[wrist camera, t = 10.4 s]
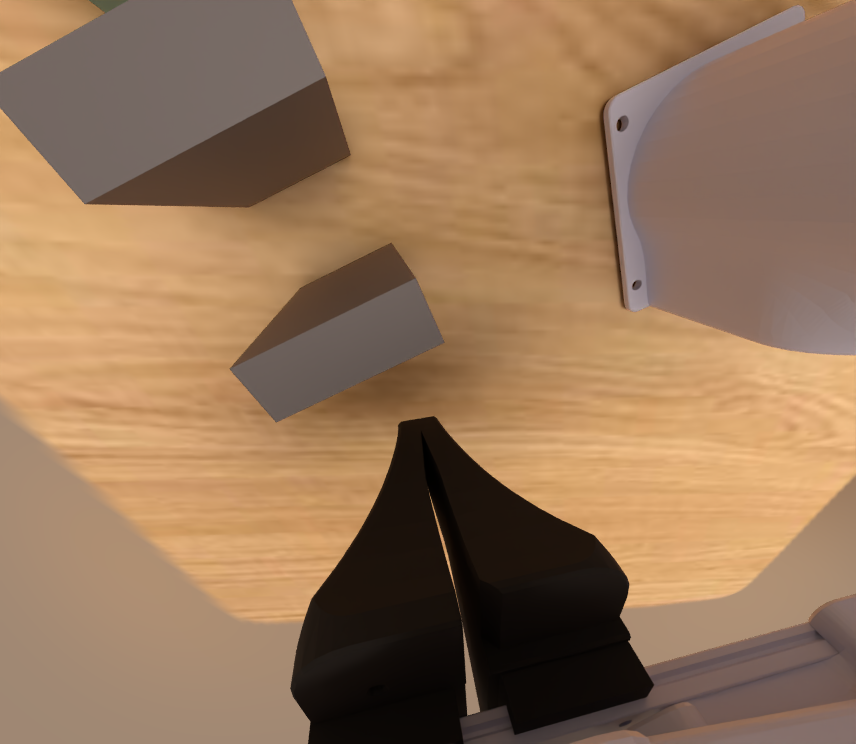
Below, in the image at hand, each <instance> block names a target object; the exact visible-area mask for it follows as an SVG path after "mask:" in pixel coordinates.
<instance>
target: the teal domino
mask: <svg viewBox="0 0 856 744" xmlns="http://www.w3.org/2000/svg"><path fill="white" fill-rule="evenodd" d="M89 1H90V2H92V3H93V4H94V5H96V6H97V7H99V8H100V9H101V10H103V11H104V12H105V13H107V12H108V11H110V10H112V9H114V8H116V7H117V6H119V5H121V4H123V3H124V2H126V1H128V0H89Z"/></svg>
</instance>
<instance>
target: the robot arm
mask: <svg viewBox="0 0 856 744" xmlns="http://www.w3.org/2000/svg"><path fill="white" fill-rule="evenodd" d="M804 20H805V11H804V9H803V7H802V6H800V5H796V6H793V7H791V8H789V9H787V10H785V11H783V12H781V13H779V14H777V15H775V16H773V17H771V18H769V19H767V20H765V21H763V22H761V23H759V24H757V25H755V26H753V27H751V28H749V29H747V30H745V31H743V32H741V33H739V34H737V35H735V36H733V37H731V38H729V39H727V40H725V41H723V42H721V43H719V44H717V45H715V46H713V47H711V48H709V49H707V50H705V51H703V52H701V53H699V54H697V55H695V56H693V57H691V58H689V59H687V60H685V61H683V62H681V63H679V64H677V65H675V66H673V67H671V68H669V69H667V70H665V71H663V72H661V73H659V74H657V75H655V76H653V77H651V78H649V79H647V80H645V81H643V82H641V83H639V84H637V85H635V86H633V87H631V88H629V89H627V90H625V91H623V92H621V93H619V94H617V95H615V96H613V97H612V98H611V99H610V100H609V101H608V102H607V104H606V106H605V109H604V126H605V135H606V144H607V152H608V161H609V170H610V179H611V188H612V197H613V206H614V214H615V223H616V232H617V241H618V250H619V259H620V268H621V276H622V285H623V294H624V303H625V307H626V309H628V310H630V311H632V312H637V311H640V310H642V309H644V308H646V307H648V306H652V307H655V308H657V309H660V310H663V311H666V312H669V313H672V314H675V315H678V316H681V317H684V318H687V319H690V320H693V321H695V322H698V323H701V324H704V325H707V326H710V327H713V328H716V329H719V330H722V331H725V332H728V333H731V334H733V335H736V336H739V337H742V338H745V339H748V340H751V341H754V342H757V343H760V344H763V345H767V346H771V347H775V348H780V349H785V350H790V351H798V352H806V353H816V354H831V355H856V0H851V1H849V2H847V3H844V4H842V5H840V6H837V7H835V8H833V9H830V10H828V11H826V12H823V13H821V14H819V15H816V16H814V17H812V18H810V19H807V20H805V21H804ZM618 119H621V122H622V126H621V129H620V131H618V130H617V127H616V125H617V121H618ZM635 281H636V284H635V286H634V287H633V288H632V285H633V283H634V282H635ZM428 489H429V491H428ZM429 493H430V495H429ZM430 496H431V499H432V503H433V506H434V509H435V512H436V516H437V519H438V522H439V525H440V529H441V532H442V535H443V538H444V541H445V545H446V549H447V553H448V557H449V561H450V566H451V571H452V575H453V580H454V585H455V589H456V593H455V589H454V586H453V582H452V579H451V575H450V572H449V568H448V564H447V561H446V557H445V553H444V550H443V546H442V542H441V538H440V535H439V531H438V527H437V523H436V519H435V515H434V511H433V507H432V503H431V499H430ZM628 589H629V581H628V579H627V576H626V575H625V573H624V572H623V571H622V569H621V568H620V566H619V565H618V563H617V562H616V561H615V559H614V558H613V557H612V556H611V554H610V553H609V552H608V551H607V549H606V548H605V547H604V546H603V545H602V544H601V543H600V541H599V540H598V539H597V538H596V537H595V536H594V535H592V534H590V533H588V532H586V531H584V530H582V529H580V528H577V527H575V526H573V525H571V524H569V523H567V522H565V521H562V520H560V519H558V518H556V517H554V516H553V515H551V514H549V513H547V512H545V511H543V510H542V509H540V508H538V507H536V506H535V505H533V504H532V503H530V502H528V501H527V500H525V499H524V498H522V497H520V496H519V495H517V494H516V493H514V492H513V491H511V490H510V489H508V488H507V487H506V486H504V485H503V484H502V483H500V482H499V481H498V480H496V479H495V478H494V477H492V476H491V475H490V474H489V473H488V472H486V471H485V470H484V469H483V468H482V467H481V466H479V465H478V464H477V463H476V462H475V461H474V460H473V459H472V458H471V457H470V456H469V455H468V454H467V453H466V452H465V451H464V450H463V449H462V448H461V447H460V446H459V445H458V444H457V443H456V442H455V441H454V440H453V438H452V437H451V436H450V435H449V434H448V433H447V431H446V430H445V429H444V428H443V426H442V425H441V424H440V422H439V421H438V419H437V418H436V417H434V416H432V417H426V418H421V419H415V420H409V421H403V422H400V424H399V425H398V437H397V442H396V447H395V451H394V454H393V458H392V461H391V464H390V467H389V470H388V473H387V475H386V478H385V481H384V483H383V486H382V488H381V491H380V493H379V495H378V497H377V499H376V501H375V503H374V505H373V507H372V509H371V511H370V513H369V515H368V517H367V519H366V521H365V522H364V524H363V526H362V528H361V529H360V531H359V533H358V534H357V536H356V537H355V539H354V541H353V542H352V544H351V545H350V547H349V548H348V550H347V551H346V553H345V554H344V556H343V557H342V559H341V560H340V562H339V563H338V565H337V566H336V567H335V569H334V570H333V571H332V573H331V574H330V575H329V577H328V578H327V579H326V581H325V582H324V583H323V585H322V586H321V587H320V588H319V590H318V591H317V592H316V594H315V595H314V596H313V598H312V599H311V602H310V605H309V608H308V611H307V614H306V617H305V620H304V623H303V626H302V630H301V634H300V638H299V641H298V646H297V650H296V656H295V662H294V669H293V675H292V682H291V688H290V689H291V692H292V695H293V697H294V699H295V700H296V701H297V703H298V704H299V706H300V707H301V709H302V710H303V712H304V713H305V715H306V716H307V717H308V719H309V720H310V722H311V723H310V731H309V740H308V744H856V594H853V595H850V596H846V597H843V598H839V599H835V600H832V601H829V602H827V603H825V604H823V605H822V606H820V607H819V608H818V609H816V610H815V611H814V612H813V613H812V615H811V616H810V617H809V622H806V623H803V624H799V625H795V626H792V627H789V628H785V629H781V630H777V631H773V632H770V633H767V634H763V635H759V636H755V637H752V638H748V639H745V640H741V641H738V642H734V643H730V644H726V645H723V646H719V647H716V648H712V649H708V650H704V651H701V652H697V653H694V654H690V655H686V656H683V657H679V658H675V659H672V660H668V661H664V662H661V663H657V664H653V665H650V666H646V667H643V665H642V664H641V662H640V660H639V659H638V657H637V655H636V653H635V652H634V650H633V648H632V647H631V645H630V643H629V642H628V641H629V640H630V638H631V636H630V633H629V631H628V630H627V628H626V626H625V625H624V623H623V621H622V620H621V618H620V614H621V612H622V609H623V606H624V604H625V601H626V599H627V595H628ZM456 594H457V597H456ZM457 599H458V602H457ZM458 604H459V606H458ZM459 609H460V611H459ZM460 613H461V615H460ZM461 618H462V620H461ZM462 623H463V626H462ZM463 628H464V633H465V637H466V643H467V647H468V652H469V657H470V662H471V667H472V672H473V677H474V682H475V687H476V692H477V697H478V702H479V707H480V712H479V713H476V714H472V715H468V716H467V706H466V691H465V684H466V673H465V658H464V643H463V642H464V641H463Z"/></svg>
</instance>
